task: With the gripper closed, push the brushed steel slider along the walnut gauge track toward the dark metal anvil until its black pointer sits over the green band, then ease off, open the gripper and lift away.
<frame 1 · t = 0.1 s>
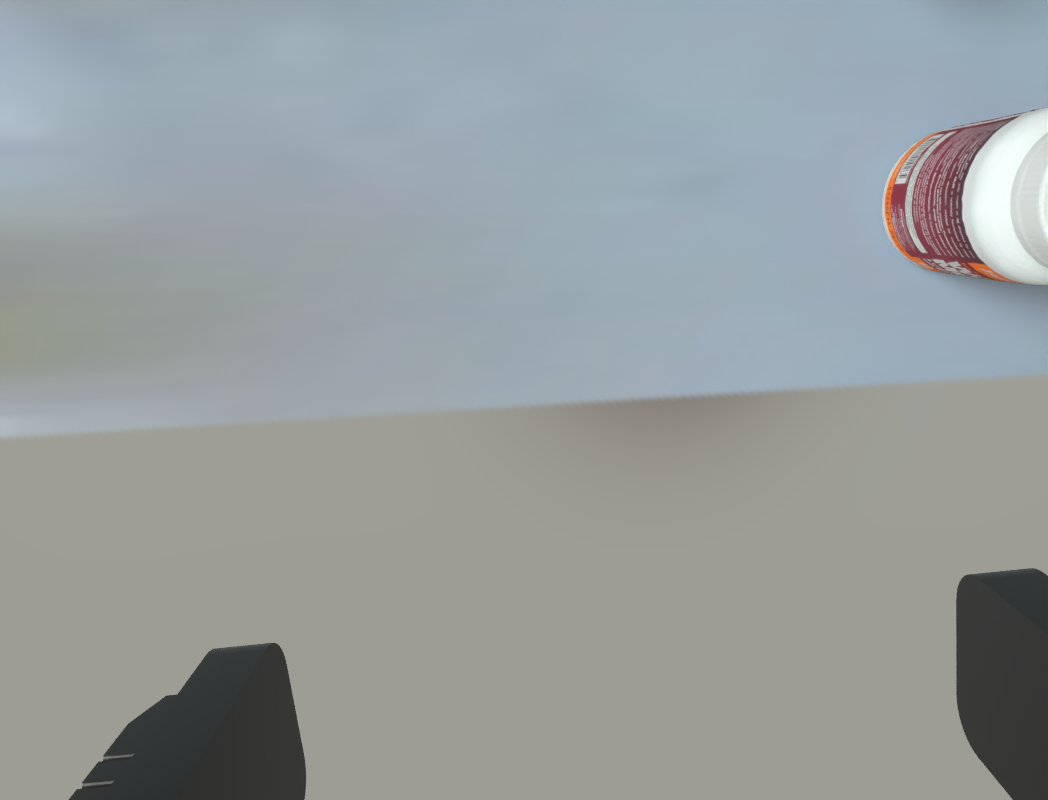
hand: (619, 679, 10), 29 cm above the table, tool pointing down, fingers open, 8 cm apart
pill bottle: (945, 200, 37), on the table
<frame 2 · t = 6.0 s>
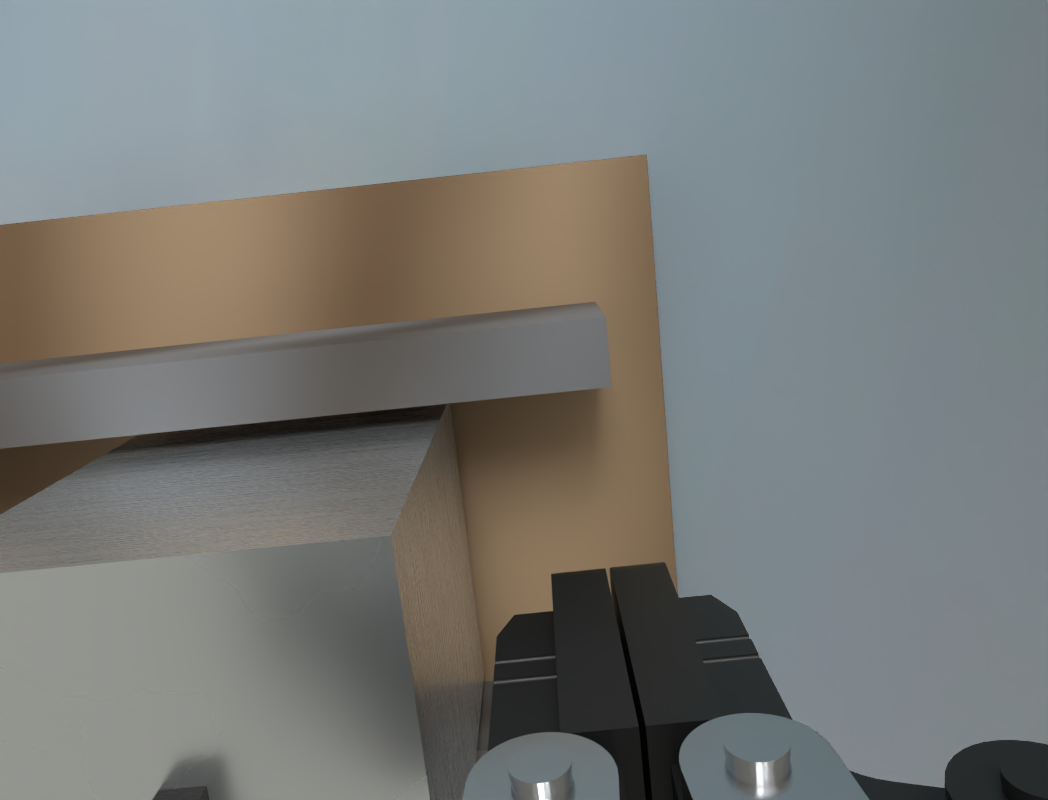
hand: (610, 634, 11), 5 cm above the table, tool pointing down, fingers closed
gauge slider: (279, 726, 12), point 5 cm above the table, slide at 0.5 cm, touching gripper
gauge track: (88, 543, 16), on the table
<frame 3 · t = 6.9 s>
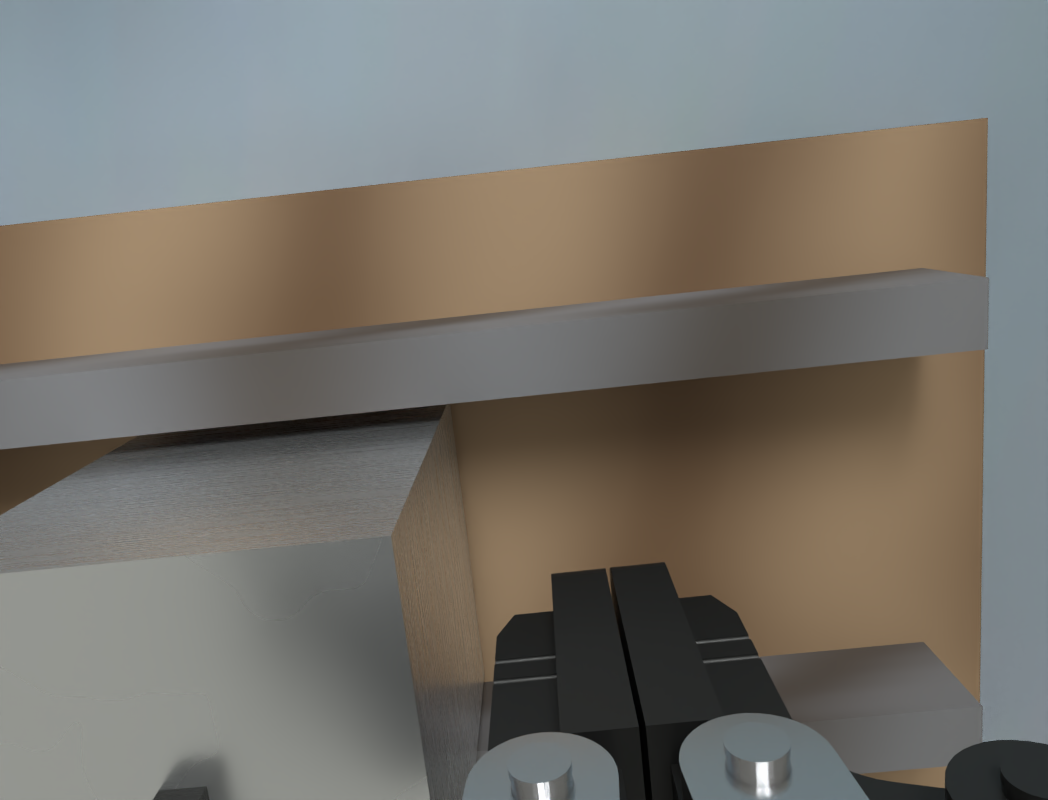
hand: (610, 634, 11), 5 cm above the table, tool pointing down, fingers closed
gauge slider: (279, 727, 12), point 5 cm above the table, slide at 5.8 cm, touching gripper
gauge track: (359, 517, 16), on the table
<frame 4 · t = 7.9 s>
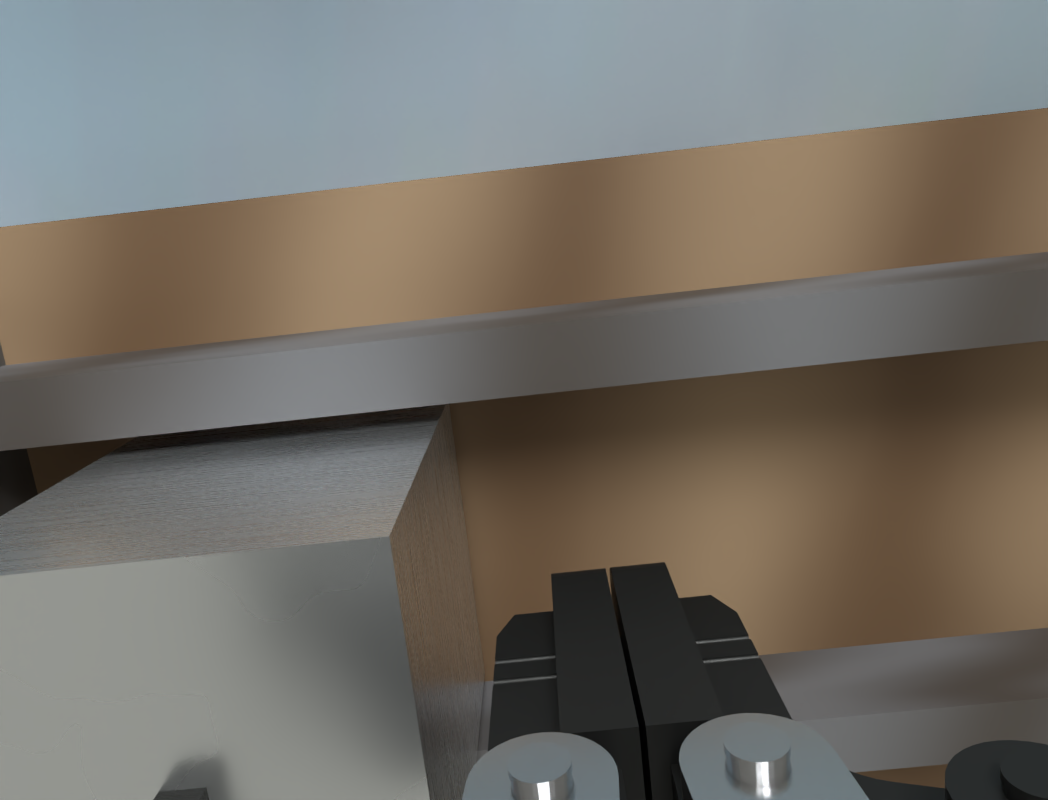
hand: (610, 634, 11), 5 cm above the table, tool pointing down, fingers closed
gauge slider: (279, 727, 12), point 5 cm above the table, slide at 9.8 cm, touching gripper
gauge track: (565, 496, 16), on the table
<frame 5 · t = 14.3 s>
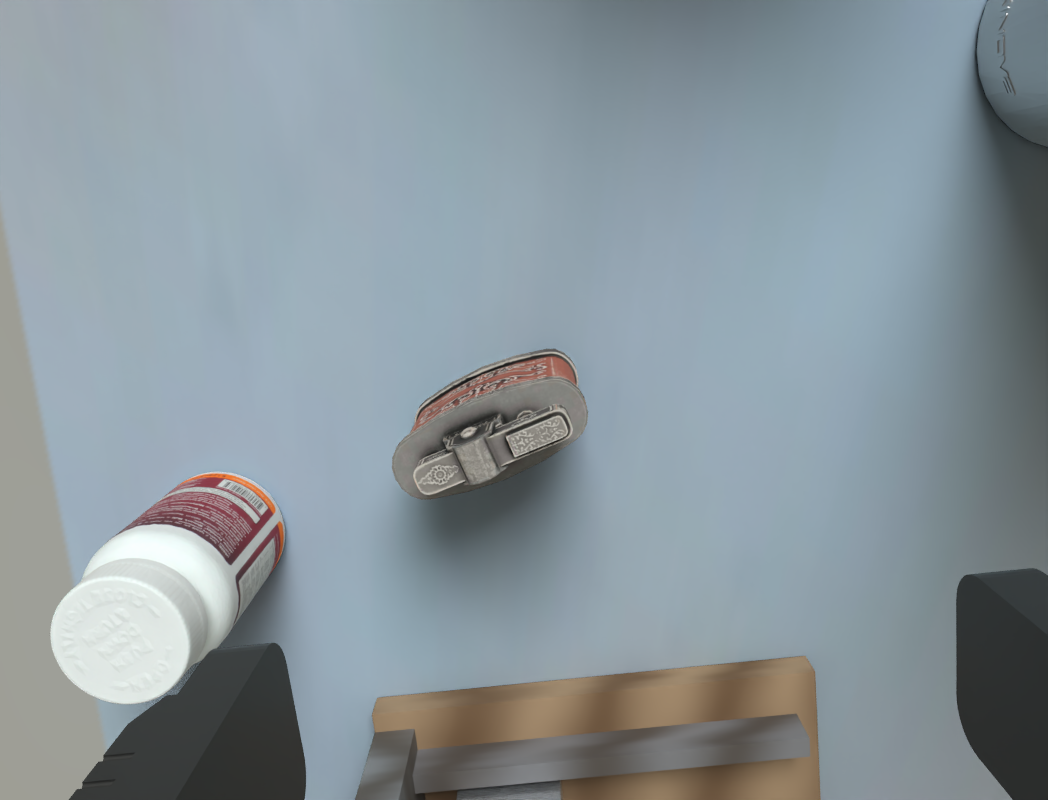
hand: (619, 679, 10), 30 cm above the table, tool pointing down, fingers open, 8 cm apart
pill bottle: (228, 526, 42), on the table
lighter: (496, 398, 40), on the table
gauge track: (600, 779, 45), on the table
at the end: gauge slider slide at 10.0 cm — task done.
